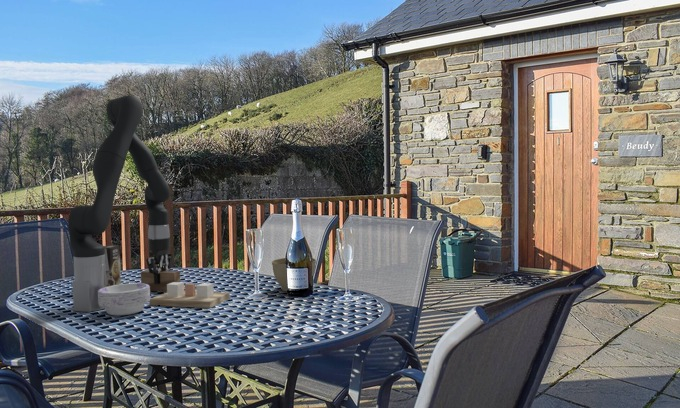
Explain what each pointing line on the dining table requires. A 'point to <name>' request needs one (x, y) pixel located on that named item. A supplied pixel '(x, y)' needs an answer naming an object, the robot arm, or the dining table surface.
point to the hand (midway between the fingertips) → (160, 282)
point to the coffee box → (112, 265)
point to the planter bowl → (284, 271)
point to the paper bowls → (124, 298)
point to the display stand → (190, 296)
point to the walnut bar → (165, 279)
